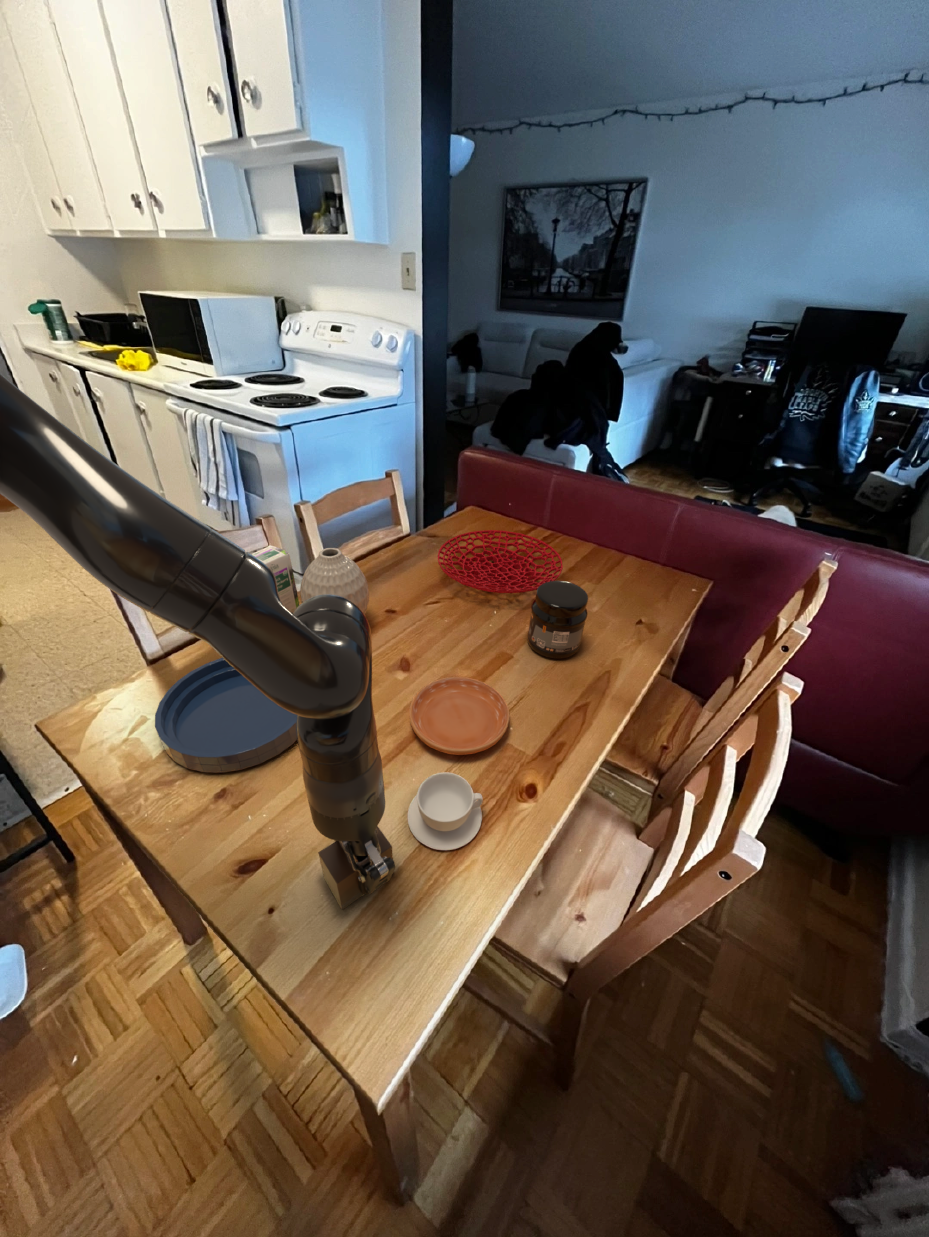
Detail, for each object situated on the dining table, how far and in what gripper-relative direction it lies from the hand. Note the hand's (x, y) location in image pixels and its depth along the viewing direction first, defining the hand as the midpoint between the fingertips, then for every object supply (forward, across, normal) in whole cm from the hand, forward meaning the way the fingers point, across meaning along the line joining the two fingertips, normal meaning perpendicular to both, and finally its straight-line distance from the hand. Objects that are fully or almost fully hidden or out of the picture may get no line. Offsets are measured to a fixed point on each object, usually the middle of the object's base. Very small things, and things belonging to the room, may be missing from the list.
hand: (358, 870), depth 59 cm
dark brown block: (+1, 0, 0) cm, 1 cm away
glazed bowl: (+1, -34, -2) cm, 34 cm away
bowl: (+2, -43, +62) cm, 76 cm away
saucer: (+2, -12, +25) cm, 28 cm away
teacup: (+2, 0, +13) cm, 13 cm away
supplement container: (+2, -17, +53) cm, 56 cm away
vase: (+2, -47, +22) cm, 52 cm away
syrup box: (+2, -57, +14) cm, 59 cm away
